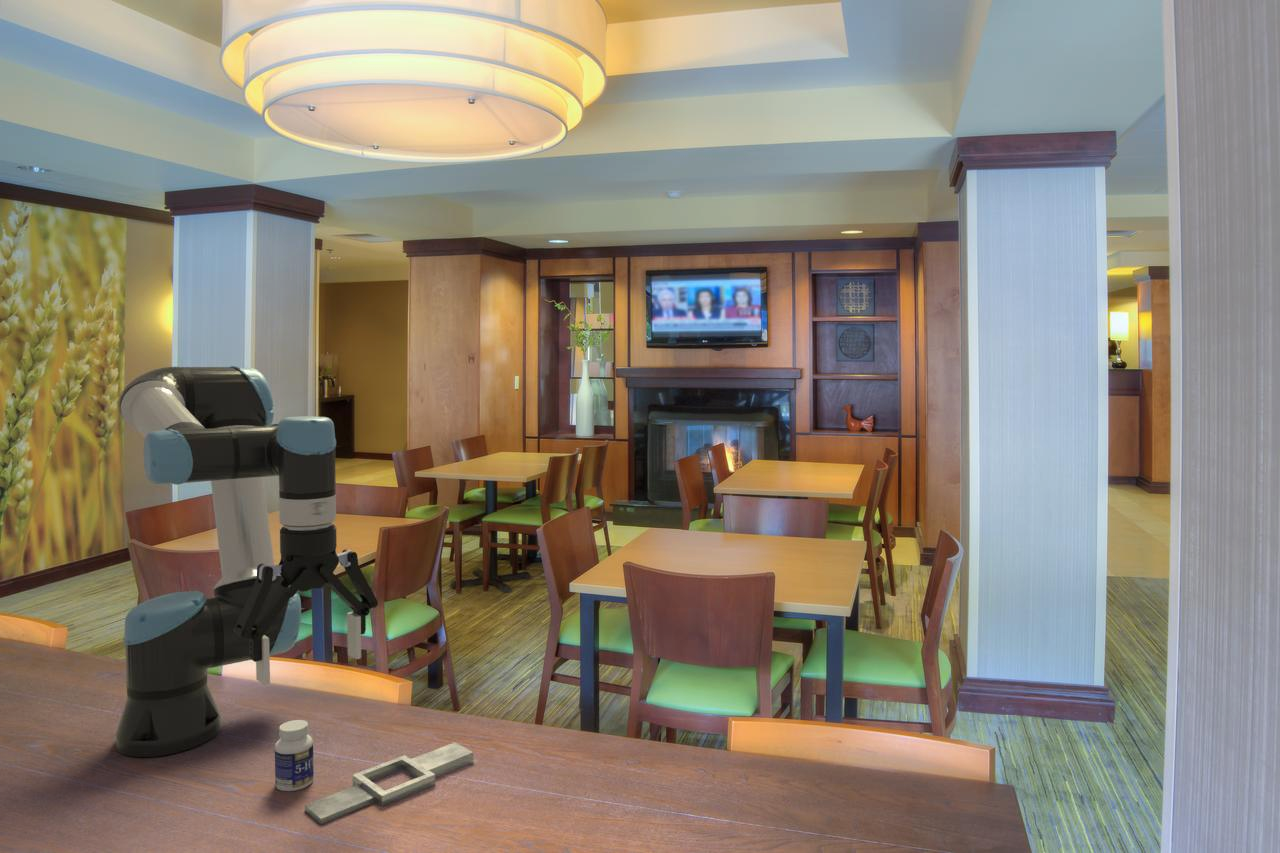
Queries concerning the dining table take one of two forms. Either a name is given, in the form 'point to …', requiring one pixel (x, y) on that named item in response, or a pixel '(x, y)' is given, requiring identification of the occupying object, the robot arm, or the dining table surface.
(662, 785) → the dining table surface
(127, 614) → the robot arm
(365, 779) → the square frame bracket
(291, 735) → the pill bottle
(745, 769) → the dining table surface
